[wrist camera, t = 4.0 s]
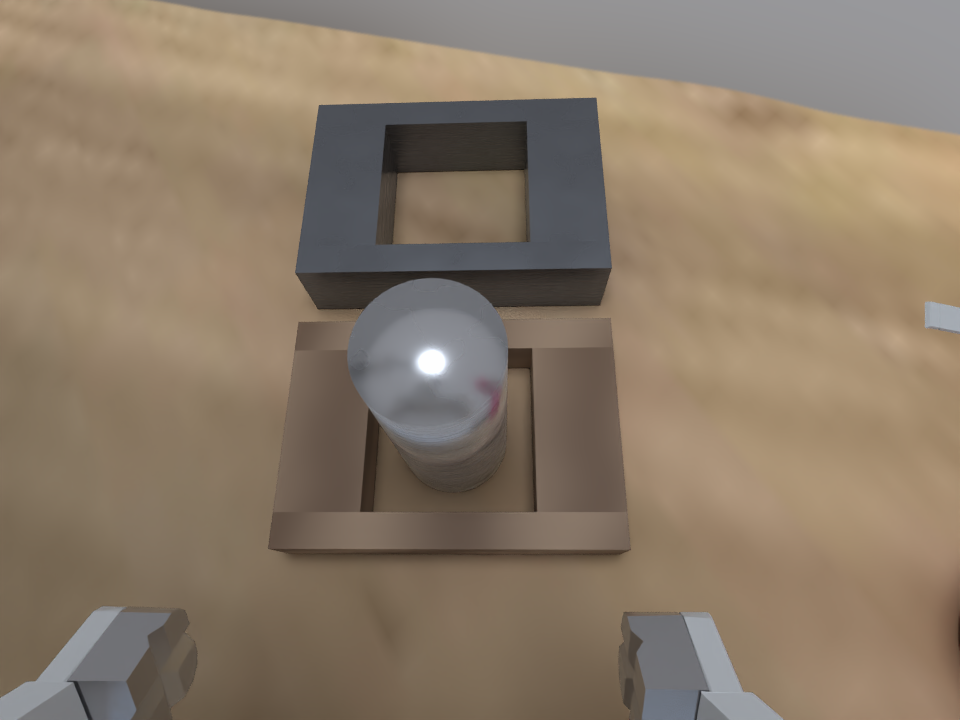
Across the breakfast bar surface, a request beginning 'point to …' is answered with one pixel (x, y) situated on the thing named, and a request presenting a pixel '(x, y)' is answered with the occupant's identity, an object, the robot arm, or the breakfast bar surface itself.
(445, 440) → the steel axle
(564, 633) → the breakfast bar surface
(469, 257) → the socket block
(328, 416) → the wooden picture frame
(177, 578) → the breakfast bar surface
